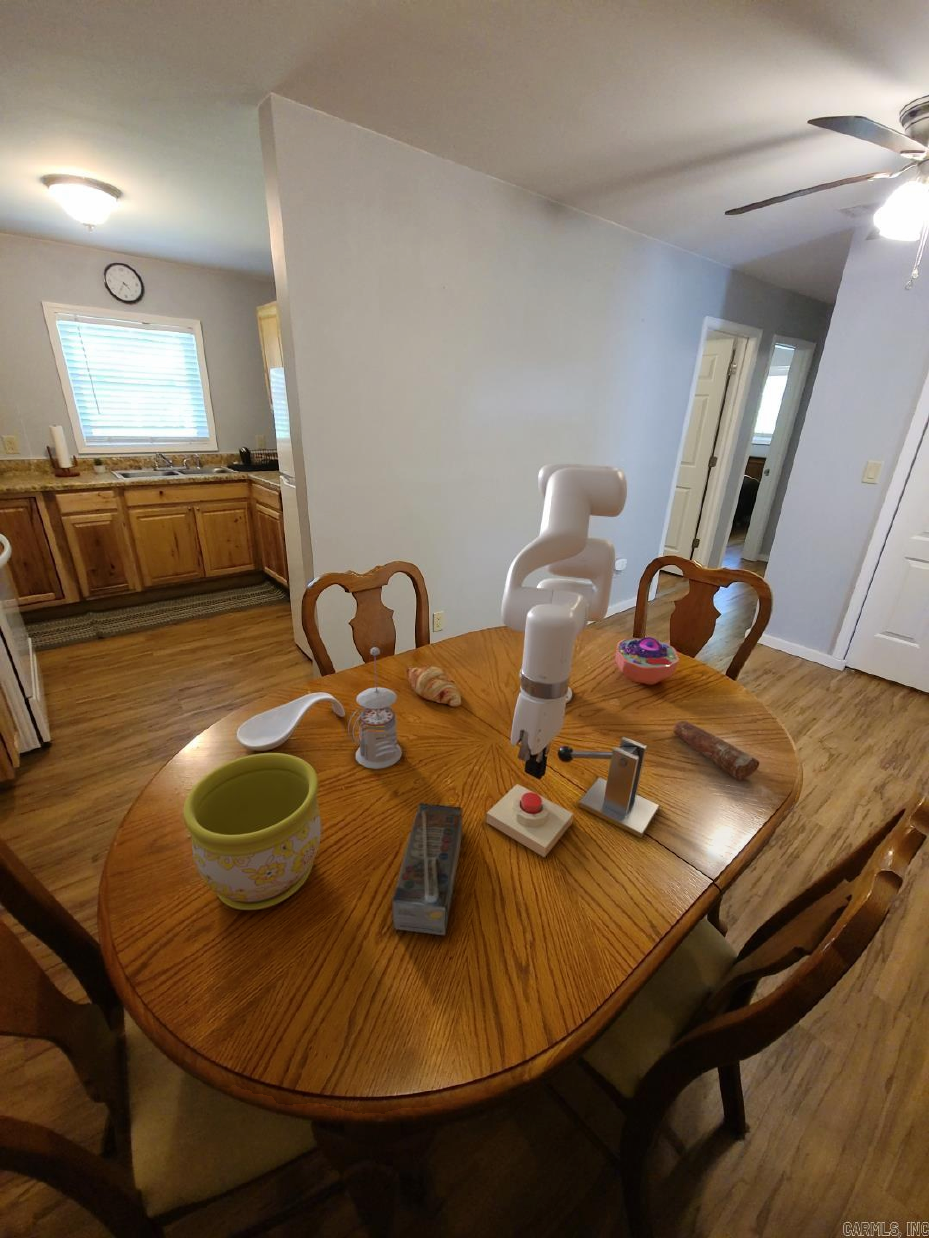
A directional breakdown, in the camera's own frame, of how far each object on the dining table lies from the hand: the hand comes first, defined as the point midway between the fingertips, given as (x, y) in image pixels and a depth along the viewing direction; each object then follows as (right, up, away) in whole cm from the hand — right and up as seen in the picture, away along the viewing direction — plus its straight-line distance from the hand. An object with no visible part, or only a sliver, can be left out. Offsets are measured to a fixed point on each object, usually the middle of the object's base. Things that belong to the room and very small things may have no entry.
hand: (534, 773), depth 86 cm
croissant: (-21, +7, +44) cm, 49 cm away
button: (0, -7, +2) cm, 7 cm away
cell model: (+38, +10, +56) cm, 69 cm away
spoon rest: (-51, +1, +26) cm, 57 cm away
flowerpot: (-43, -13, -8) cm, 46 cm away
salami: (+41, -4, +23) cm, 47 cm away
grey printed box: (-17, -14, -8) cm, 24 cm away
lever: (+13, 0, +8) cm, 15 cm away
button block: (-1, -10, +4) cm, 11 cm away
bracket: (+17, -9, +8) cm, 21 cm away
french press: (-31, -2, +20) cm, 37 cm away
